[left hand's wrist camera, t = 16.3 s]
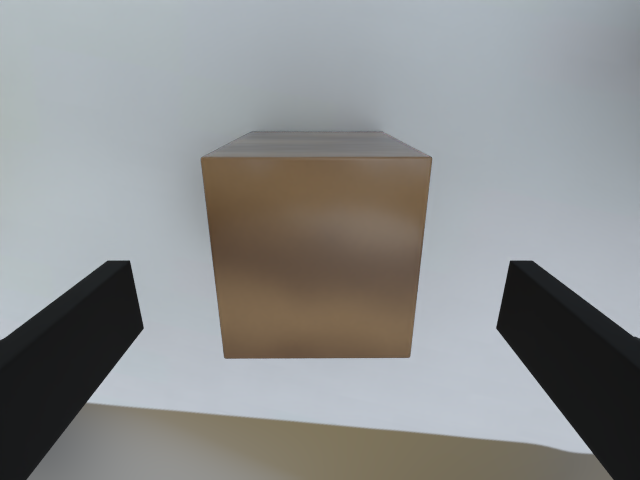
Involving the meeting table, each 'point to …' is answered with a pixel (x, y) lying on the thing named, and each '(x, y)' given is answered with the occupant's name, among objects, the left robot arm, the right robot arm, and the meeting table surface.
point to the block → (316, 243)
